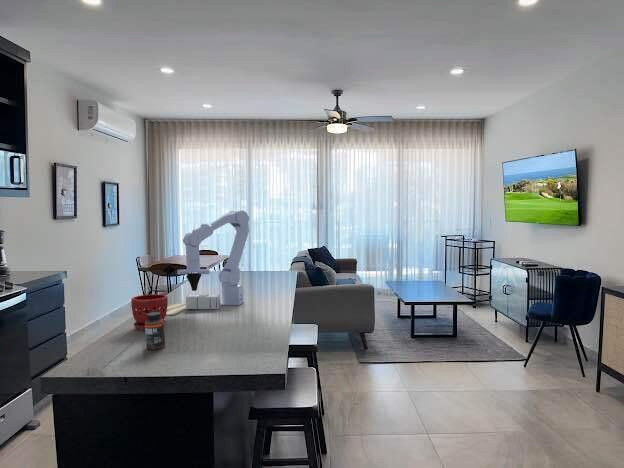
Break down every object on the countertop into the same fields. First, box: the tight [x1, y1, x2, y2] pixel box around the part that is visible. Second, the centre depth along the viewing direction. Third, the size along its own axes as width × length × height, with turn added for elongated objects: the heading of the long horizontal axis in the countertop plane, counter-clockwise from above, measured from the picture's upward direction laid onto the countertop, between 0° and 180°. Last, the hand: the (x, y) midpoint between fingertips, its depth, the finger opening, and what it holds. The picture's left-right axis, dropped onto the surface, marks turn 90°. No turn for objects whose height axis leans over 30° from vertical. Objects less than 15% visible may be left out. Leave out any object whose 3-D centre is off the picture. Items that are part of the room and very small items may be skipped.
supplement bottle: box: [144, 312, 166, 351], centre depth 149 cm, size 6×6×11 cm
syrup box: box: [185, 293, 221, 310], centre depth 205 cm, size 6×6×14 cm
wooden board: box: [165, 303, 188, 317], centre depth 204 cm, size 12×20×1 cm, turn 169°
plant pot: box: [130, 293, 169, 331], centre depth 175 cm, size 13×13×12 cm
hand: (194, 290), depth 202 cm, fingers closed
